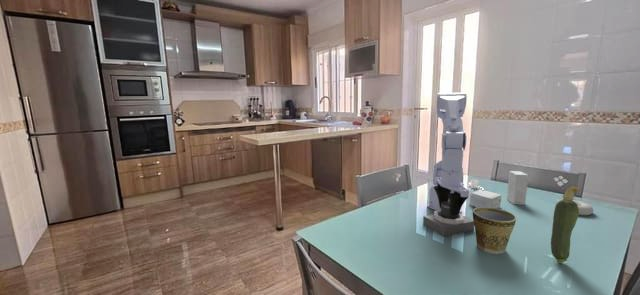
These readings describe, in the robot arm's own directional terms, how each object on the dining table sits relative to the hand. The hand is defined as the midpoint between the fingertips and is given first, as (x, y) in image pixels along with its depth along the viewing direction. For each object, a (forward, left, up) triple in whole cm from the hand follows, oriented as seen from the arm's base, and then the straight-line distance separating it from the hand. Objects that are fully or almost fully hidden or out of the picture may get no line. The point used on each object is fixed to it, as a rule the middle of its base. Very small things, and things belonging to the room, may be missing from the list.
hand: (448, 211), depth 87 cm
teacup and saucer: (-26, +46, -6) cm, 53 cm away
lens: (0, 0, -2) cm, 2 cm away
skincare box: (-7, +42, -6) cm, 43 cm away
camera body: (0, 0, -5) cm, 5 cm away
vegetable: (+25, +11, -6) cm, 28 cm away
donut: (+7, +52, -6) cm, 53 cm away
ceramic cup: (+13, +2, -6) cm, 14 cm away
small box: (-9, +27, -6) cm, 29 cm away
